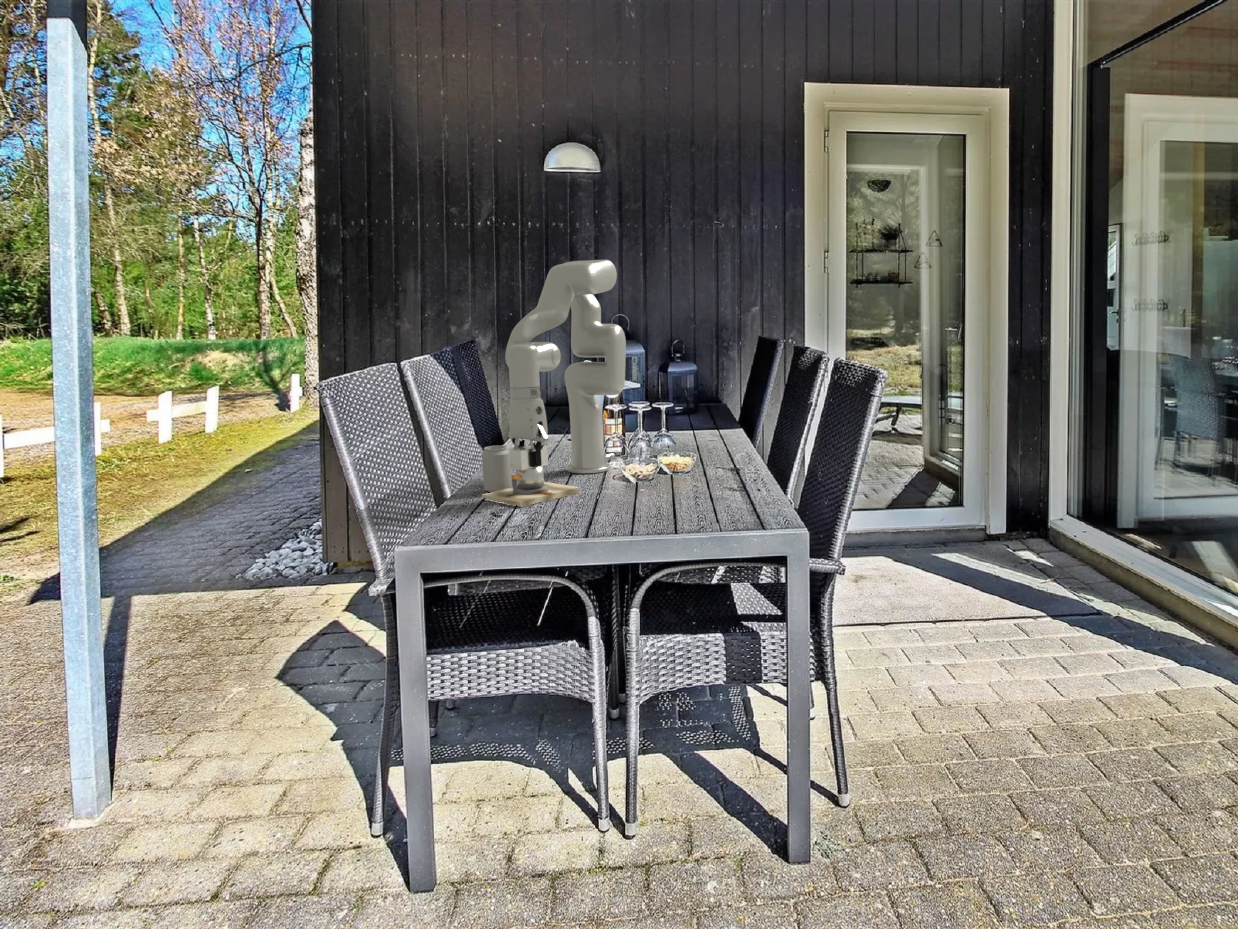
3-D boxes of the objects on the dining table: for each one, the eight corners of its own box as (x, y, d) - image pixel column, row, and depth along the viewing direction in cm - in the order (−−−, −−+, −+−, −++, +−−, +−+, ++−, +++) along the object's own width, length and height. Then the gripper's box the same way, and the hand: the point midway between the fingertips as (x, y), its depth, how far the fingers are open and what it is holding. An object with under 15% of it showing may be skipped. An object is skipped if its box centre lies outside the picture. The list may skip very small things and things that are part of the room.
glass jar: (534, 481, 229) (532, 443, 227) (552, 484, 224) (550, 446, 222) (504, 488, 222) (502, 449, 220) (522, 491, 217) (520, 451, 215)
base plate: (540, 486, 236) (540, 477, 236) (579, 493, 226) (578, 483, 226) (482, 500, 222) (481, 490, 221) (520, 507, 212) (520, 497, 211)
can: (515, 487, 236) (512, 444, 233) (509, 493, 228) (506, 448, 226) (487, 488, 236) (485, 444, 234) (481, 494, 229) (477, 449, 227)
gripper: (559, 393, 216) (562, 466, 219) (514, 391, 228) (518, 460, 231) (536, 397, 211) (540, 471, 214) (492, 394, 222) (496, 464, 225)
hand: (529, 464), depth 222 cm, fingers closed on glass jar, 4 cm apart
